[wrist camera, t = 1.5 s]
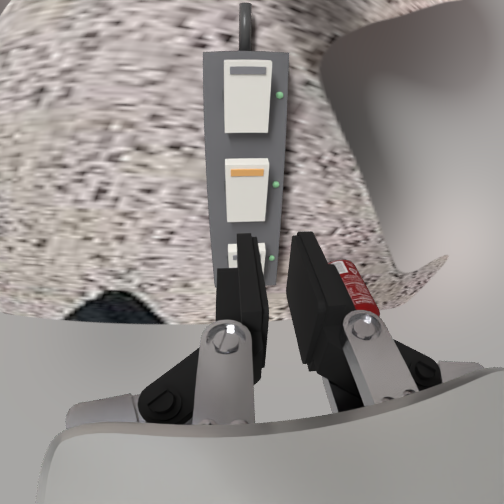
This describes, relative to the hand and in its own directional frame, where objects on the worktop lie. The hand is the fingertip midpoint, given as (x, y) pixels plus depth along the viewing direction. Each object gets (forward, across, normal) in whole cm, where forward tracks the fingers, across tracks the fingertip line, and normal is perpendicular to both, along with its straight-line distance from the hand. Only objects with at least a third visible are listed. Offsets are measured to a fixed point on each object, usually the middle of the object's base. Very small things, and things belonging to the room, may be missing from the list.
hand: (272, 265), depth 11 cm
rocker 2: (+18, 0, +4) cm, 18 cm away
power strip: (+23, 0, +1) cm, 23 cm away
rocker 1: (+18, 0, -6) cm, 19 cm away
